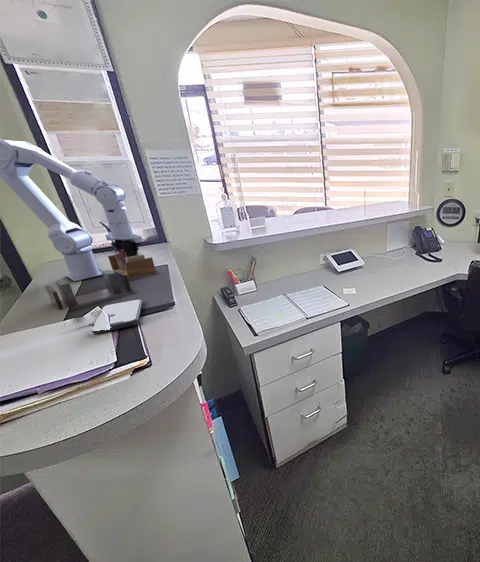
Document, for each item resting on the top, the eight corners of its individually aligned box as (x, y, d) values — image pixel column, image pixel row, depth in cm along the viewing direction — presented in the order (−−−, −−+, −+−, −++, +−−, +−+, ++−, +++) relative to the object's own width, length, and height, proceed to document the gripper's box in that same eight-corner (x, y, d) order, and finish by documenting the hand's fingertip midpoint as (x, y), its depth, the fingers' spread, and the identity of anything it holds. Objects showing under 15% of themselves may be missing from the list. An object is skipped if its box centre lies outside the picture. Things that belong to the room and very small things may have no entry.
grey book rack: (61, 313, 81) (50, 288, 78) (53, 306, 85) (43, 282, 82) (132, 293, 93) (125, 271, 90) (122, 287, 97) (115, 266, 95)
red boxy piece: (123, 266, 108) (118, 250, 106) (137, 262, 112) (133, 246, 110) (127, 267, 107) (122, 250, 105) (141, 263, 112) (136, 246, 110)
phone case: (104, 310, 82) (91, 336, 70) (102, 305, 82) (88, 329, 69) (144, 303, 87) (139, 325, 74) (142, 298, 86) (137, 319, 73)
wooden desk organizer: (112, 271, 112) (106, 253, 110) (138, 266, 118) (133, 248, 116) (130, 280, 103) (123, 260, 101) (156, 273, 110) (151, 254, 107)
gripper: (91, 223, 103) (104, 262, 108) (122, 225, 99) (134, 266, 104) (113, 220, 109) (124, 257, 114) (143, 221, 105) (154, 260, 110)
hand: (131, 261), depth 109 cm, fingers closed on red boxy piece, 2 cm apart
